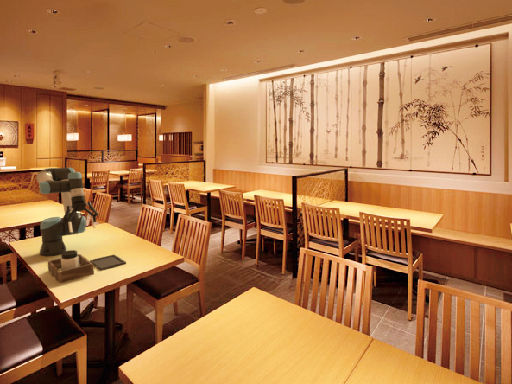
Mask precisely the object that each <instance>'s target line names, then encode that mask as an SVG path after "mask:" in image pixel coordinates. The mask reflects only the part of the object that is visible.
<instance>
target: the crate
mask: <svg viewBox="0 0 512 384" xmlns="http://www.w3.org/2000/svg"><path fill="white" fill-rule="evenodd" d="M77 254H78V253H77ZM78 256H79V267H76V268H72V269H68V270H64V271H62V269H61V257H58V258H56V259H50V260H47V270H48V272H49V273H50V274H51V276H52V277H53V278H54V279H55V280H56V281H57V282H58V284H61V283H65V282H68V281H72V280H77V279H80V278H84V277H88V276H90V275H94V274H95V269H94V265H93V263H91V262H90V259H87V258H86V257H85V256H83V254H80V253H79V254H78ZM60 269H61V270H60Z"/></svg>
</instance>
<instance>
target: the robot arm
mask: <svg viewBox="0 0 512 384" xmlns="http://www.w3.org/2000/svg"><path fill="white" fill-rule="evenodd" d="M35 180H36V181H37V183H38V184H39V187H38V188H39V193H40V194H41V195H42V194H43V195H45V194H46V195H48V194H59V193H60V194H61V200H62V204H63V210H64V215H63V216H62V217H63V218H62V217H60V216H54V217H47V218H45V219H43V220H41V222H40V232H41V234H40V235H41V245H40V249H39V254H40V256H43V257H52V256H58V255H61V253H63V252H65V251H67V246H66V244H65V242H64V241H63V237H64V236H65V237H66V236H71V235H79V234H83V233H85V231H86V225H87V223H86V222H87V220H86V216H85V215H83V214H82V213H81V212H83V211H84V212H86V213H87V214H89V215H90V218H91V225H92V228H94V229H95V228H96V226H97V225H96V222H97V216H99V213H98V211H97V210H96V209H95V207H94V206H93V204H92V202H91V201H88V202H87V201H86V196H85V189H84V184H83V176H82V173H81V172H79V171H76V170H75V169H74V168H73V167H52V168H51V167H49V168H45V169H42V170H40V171H39V172H38V173H37V174H36V178H35ZM87 206H88V208H90V210H89V209H88V208H87Z"/></svg>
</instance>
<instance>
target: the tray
mask: <svg viewBox="0 0 512 384" xmlns="http://www.w3.org/2000/svg"><path fill="white" fill-rule="evenodd" d="M89 261H90V262H91V263H93V266H95V267H96V268H97V269H99V270H100V271H105V270H109V269H111V268H115V267H116V268H117V267H119V266H123V265H126V264H127V261H125V260H124V259H122V258H120V257H119V256H118V255H116V254H111V255H107V256H102V257H98V258H94V259H89Z"/></svg>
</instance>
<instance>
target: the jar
mask: <svg viewBox="0 0 512 384" xmlns="http://www.w3.org/2000/svg"><path fill="white" fill-rule="evenodd" d="M60 258H61V271H64V270H68V269H72V268H76V267H80V264H79V256H78V251H77V250H76V249H75V250H74V249H71V250H66V251H65V252H63V253H61V254H60Z"/></svg>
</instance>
